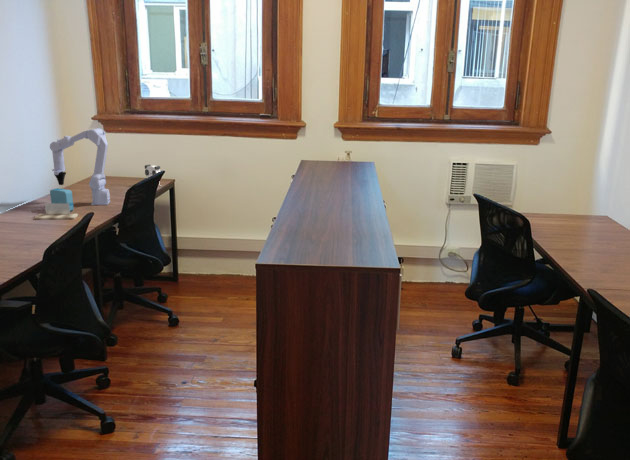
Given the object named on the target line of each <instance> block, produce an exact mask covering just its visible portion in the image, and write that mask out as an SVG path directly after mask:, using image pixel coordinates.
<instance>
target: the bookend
mask: <svg viewBox="0 0 630 460" xmlns="http://www.w3.org/2000/svg"><path fill="white" fill-rule="evenodd" d="M44 206H45V207H44V209H45V213H39V214H37V215H36V216H35V217H33V220H36V221H38V220H39V221H40V220H41V221H42V220H45V221H46V220H47V221H48V220H55V221H56V220H75V219H76V218H77V217H78V216H79V213H71V211H70V207H69V203H51V202H50V203H49V202H46V203H44Z"/></svg>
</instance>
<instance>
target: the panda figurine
mask: <svg viewBox="0 0 630 460" xmlns="http://www.w3.org/2000/svg"><path fill="white" fill-rule="evenodd" d="M144 169H145V170H144V174H145V177H146V178H147V179H148V177H150V176H152V175H154V174H156V173H158V172H161V166H160V165H151V164H145V165H144ZM159 185H160V186H161V184H160V182H159Z"/></svg>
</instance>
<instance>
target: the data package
mask: <svg viewBox="0 0 630 460" xmlns="http://www.w3.org/2000/svg"><path fill="white" fill-rule="evenodd" d="M49 196H50V203H69V207H70V212H72V211H74V200H73V191H72V190H70V189H65V188H53V189H50V191H49Z"/></svg>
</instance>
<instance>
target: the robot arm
mask: <svg viewBox="0 0 630 460" xmlns="http://www.w3.org/2000/svg"><path fill="white" fill-rule="evenodd" d="M83 139H86V140H90V141H91V142H92V143H94V145H96V147H97V151H96V156H95V157H96V158H95V163H94V164H95V165H94V170H93V173H92V175H91V178H90V180H89V181H88V182H89V183H88V186H89V187H90V190H91V196H92V202H91V203H90V205H91V206H98V205H99V206H105V205H106V206H107V205H109V204H110V203H111V194H110V190H109V189H108V188H106V187H105V186H106V185H107V180H106V175H105V168H106V160H107V156H108V155H107V153H108V147H109V143H108V140H107V137H106V132H105V130H104V129H103V128H100V127H96V128H92V129H88V130H85V131H81V132H79V133H77V134H75V135H73V136H70V135H65V136H63V138H60V139H59V138H58V139H56V140H57V141H51V143H50V144H49V149H50V150H51V152H52V159H53V168H52V169H51V170H52V172H53V174H54V177H55V178H56V180H57V184H58V185H59V186H64V184H65V183H64V182H65V179H66V178H65V177H66V175H67V171H66V167H65V157H64V150H65V149H68V148H70V147H72V146H74V145H75V142H77V141H81V140H83Z"/></svg>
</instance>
